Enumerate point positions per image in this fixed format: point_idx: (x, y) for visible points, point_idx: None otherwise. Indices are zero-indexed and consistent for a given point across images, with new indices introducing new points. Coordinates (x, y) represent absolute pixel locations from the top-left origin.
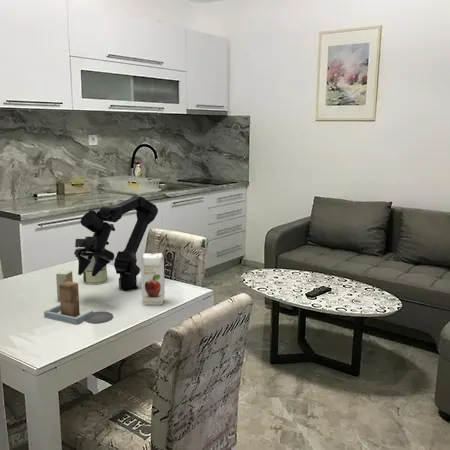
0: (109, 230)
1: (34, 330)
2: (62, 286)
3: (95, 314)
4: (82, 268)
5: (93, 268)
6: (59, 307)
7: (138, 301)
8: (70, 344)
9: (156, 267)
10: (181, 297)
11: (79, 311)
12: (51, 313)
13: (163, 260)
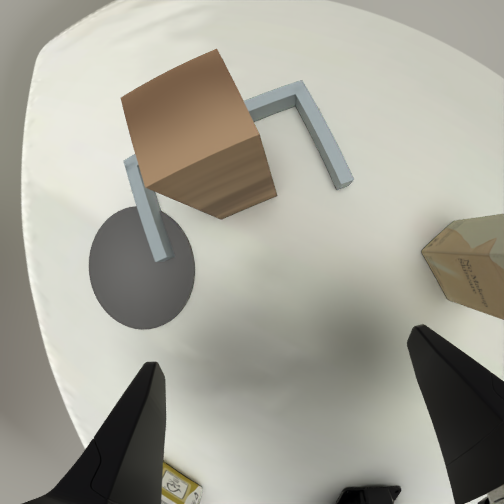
0: None
1: (198, 41)
2: (186, 68)
3: (164, 271)
4: (443, 394)
5: (128, 422)
6: (327, 159)
7: (203, 469)
8: (50, 113)
9: None
10: None
11: (216, 217)
12: (258, 95)
13: None
